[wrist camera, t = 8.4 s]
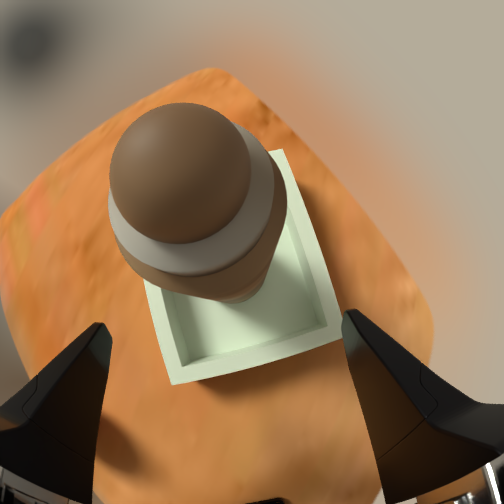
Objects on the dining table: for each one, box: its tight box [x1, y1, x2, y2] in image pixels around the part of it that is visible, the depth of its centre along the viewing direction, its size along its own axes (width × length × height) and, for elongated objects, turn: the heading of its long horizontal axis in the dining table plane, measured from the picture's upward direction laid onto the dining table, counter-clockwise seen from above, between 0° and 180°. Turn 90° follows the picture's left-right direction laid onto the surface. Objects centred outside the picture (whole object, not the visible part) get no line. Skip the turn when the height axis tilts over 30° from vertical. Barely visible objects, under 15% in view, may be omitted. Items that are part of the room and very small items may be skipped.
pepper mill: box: [108, 103, 287, 304], centre depth 11 cm, size 5×5×15 cm
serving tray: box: [143, 149, 343, 385], centre depth 18 cm, size 13×11×4 cm
